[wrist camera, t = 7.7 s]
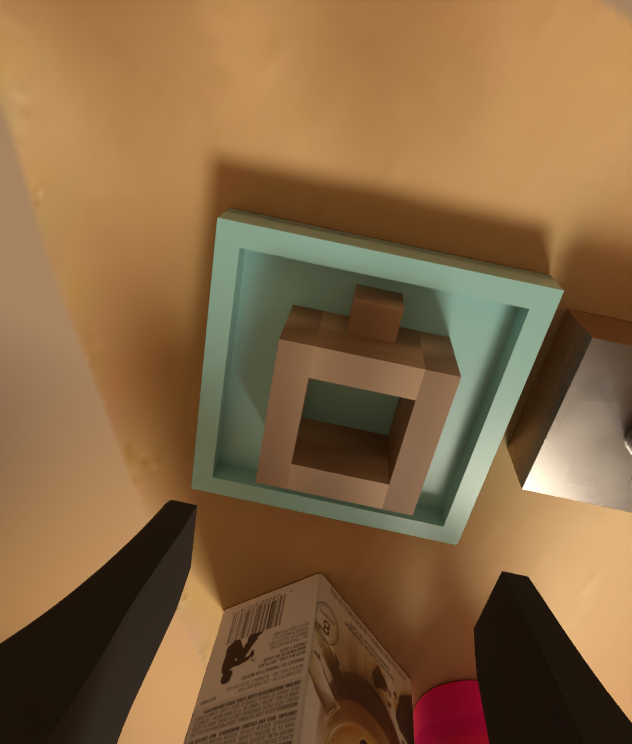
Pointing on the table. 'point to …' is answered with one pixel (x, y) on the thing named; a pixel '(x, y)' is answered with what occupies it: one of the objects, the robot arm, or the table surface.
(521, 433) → the block
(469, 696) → the pepper mill
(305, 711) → the coffee box
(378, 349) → the ring
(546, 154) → the table surface
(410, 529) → the tray
